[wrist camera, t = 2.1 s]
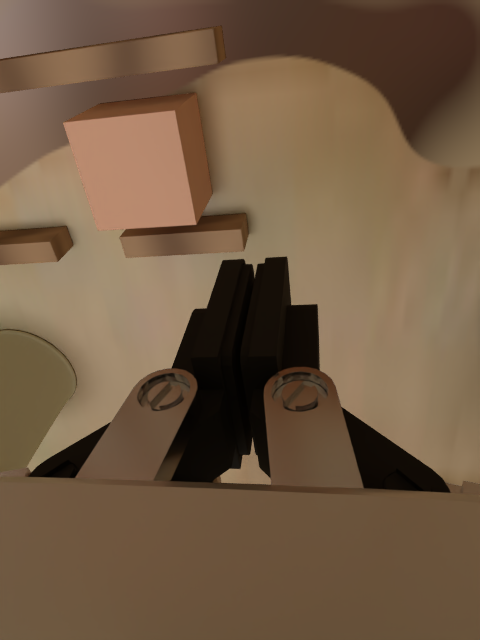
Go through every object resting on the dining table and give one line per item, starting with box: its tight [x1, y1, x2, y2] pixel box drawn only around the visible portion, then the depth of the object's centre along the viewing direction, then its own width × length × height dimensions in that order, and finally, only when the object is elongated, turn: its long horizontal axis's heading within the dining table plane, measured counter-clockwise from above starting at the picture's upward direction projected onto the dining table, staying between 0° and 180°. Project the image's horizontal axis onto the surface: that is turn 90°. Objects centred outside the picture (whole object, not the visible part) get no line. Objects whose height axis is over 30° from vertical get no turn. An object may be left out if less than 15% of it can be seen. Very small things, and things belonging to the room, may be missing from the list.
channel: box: [0, 26, 249, 265], centre depth 28 cm, size 24×12×4 cm, turn 98°
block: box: [63, 93, 213, 231], centre depth 27 cm, size 6×6×5 cm
